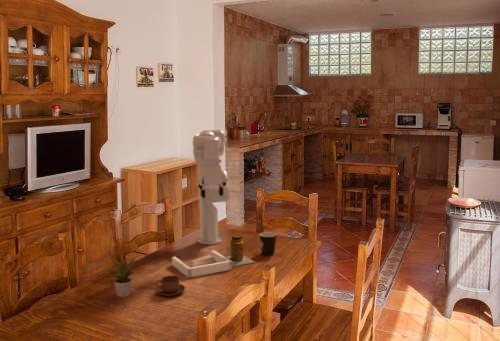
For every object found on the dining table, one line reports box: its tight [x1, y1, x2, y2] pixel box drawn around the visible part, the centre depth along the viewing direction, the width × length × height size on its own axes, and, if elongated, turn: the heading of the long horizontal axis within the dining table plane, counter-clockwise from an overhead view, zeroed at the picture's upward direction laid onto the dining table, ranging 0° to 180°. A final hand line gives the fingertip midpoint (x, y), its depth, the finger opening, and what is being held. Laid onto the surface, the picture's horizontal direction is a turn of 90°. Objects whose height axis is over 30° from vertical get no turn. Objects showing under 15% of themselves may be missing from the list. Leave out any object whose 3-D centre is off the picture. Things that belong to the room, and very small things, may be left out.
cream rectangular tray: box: [171, 249, 233, 279], centre depth 256 cm, size 20×22×4 cm
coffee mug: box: [259, 231, 277, 256], centre depth 278 cm, size 12×9×10 cm
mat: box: [225, 254, 256, 268], centre depth 265 cm, size 14×12×1 cm
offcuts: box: [190, 254, 217, 267], centre depth 253 cm, size 5×14×5 cm, turn 140°
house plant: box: [104, 254, 140, 298], centre depth 223 cm, size 14×14×16 cm
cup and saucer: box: [155, 275, 186, 297], centre depth 225 cm, size 12×12×6 cm
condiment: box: [228, 234, 247, 263], centre depth 264 cm, size 7×8×12 cm
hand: (212, 196), depth 271 cm, fingers open, 9 cm apart
